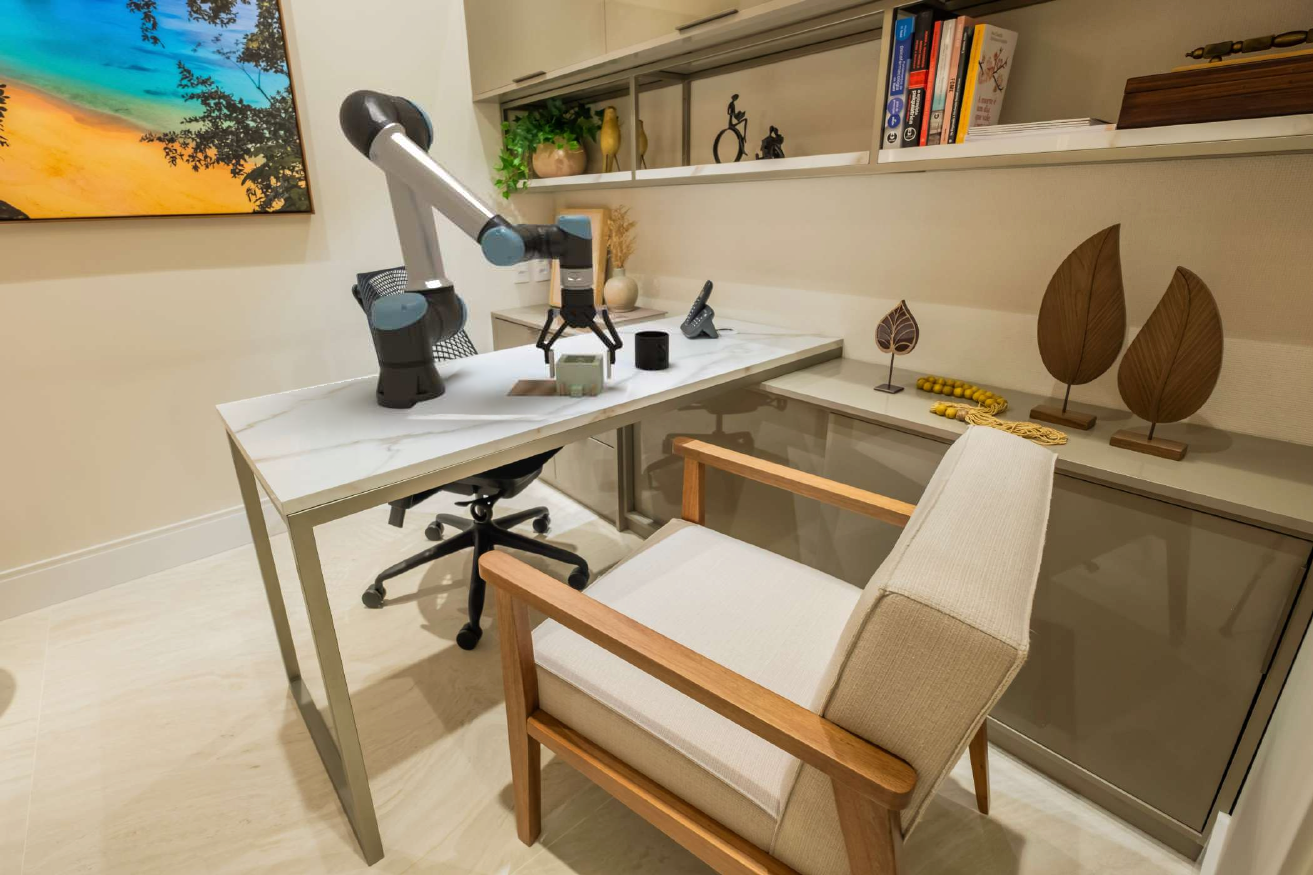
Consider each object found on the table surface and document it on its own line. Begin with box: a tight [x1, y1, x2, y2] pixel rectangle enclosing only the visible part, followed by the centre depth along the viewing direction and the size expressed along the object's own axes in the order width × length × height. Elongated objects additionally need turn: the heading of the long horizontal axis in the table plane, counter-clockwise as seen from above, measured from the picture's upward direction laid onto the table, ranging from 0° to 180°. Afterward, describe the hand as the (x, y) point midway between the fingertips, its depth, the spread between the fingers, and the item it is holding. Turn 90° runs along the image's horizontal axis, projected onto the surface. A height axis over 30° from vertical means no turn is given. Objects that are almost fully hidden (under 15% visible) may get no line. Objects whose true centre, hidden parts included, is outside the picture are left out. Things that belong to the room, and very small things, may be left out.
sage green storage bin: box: [555, 353, 605, 398], centre depth 149 cm, size 13×10×7 cm
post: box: [575, 358, 586, 363], centre depth 150 cm, size 2×2×7 cm
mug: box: [634, 330, 670, 371], centre depth 172 cm, size 9×12×9 cm
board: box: [505, 379, 598, 398], centre depth 151 cm, size 21×13×4 cm, turn 89°
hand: (581, 377), depth 150 cm, fingers open, 13 cm apart
